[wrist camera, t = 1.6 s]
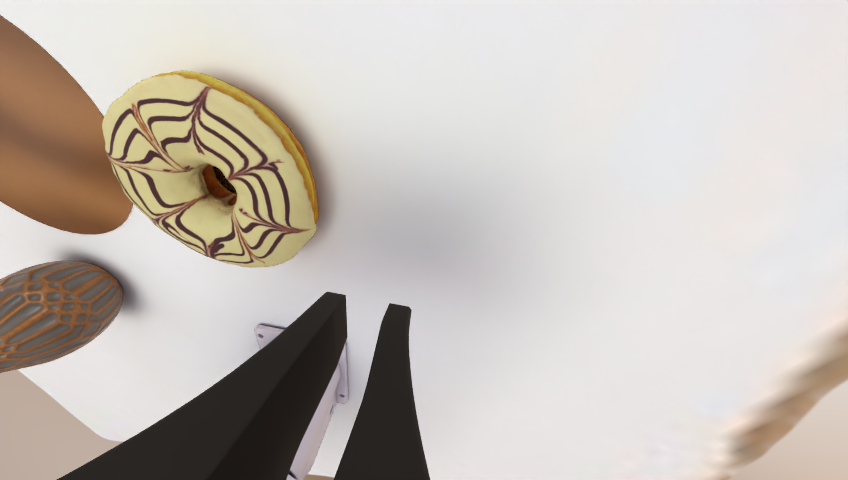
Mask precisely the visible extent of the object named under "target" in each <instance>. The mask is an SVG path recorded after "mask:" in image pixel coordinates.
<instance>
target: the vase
mask: <svg viewBox="0 0 848 480" xmlns="http://www.w3.org/2000/svg"><path fill="white" fill-rule="evenodd" d="M122 297H123V294H122V288H121V286H120V284H119V283H118V281H117V280H116V279H115V278H114V277H113V276H112V275H111V274H109V273H108V272H107V271H105V270H103V269H102V268H100V267H98V266H96V265H93V264H90V263H85V262H77V261H55V262H49V263H43V264H39V265H35V266H32V267H28V268H25V269H22V270H20V271H17V272H15V273H13V274H11V275H8V276H6V277H4V278H2V279H0V373H2V372H6V371H11V370H16V369H20V368H25V367H30V366H34V365H38V364H43V363H46V362H50V361H53V360H56V359H58V358H61V357H63V356H65V355H68V354H70V353H72V352H74V351H76V350H77V349H79V348H81V347H83V346H84V345H86V344H88V343H89V342H90V341H92V340H93V339H95V338H96V337H97V336H98V335H100V334H101V333H102V332H103V331H104V330H105V329H106V328H107V327H108V326H109V325H110V324H111V323H112V322H113V320H114V319H115V317H116V316H117V314H118V313H119V311H120V308H121V305H122Z"/></svg>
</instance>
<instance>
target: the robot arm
mask: <svg viewBox="0 0 848 480" xmlns="http://www.w3.org/2000/svg"><path fill="white" fill-rule="evenodd" d="M410 317H411V309H410V308H409V307H407V306H402V305H396V304H391V303H390V304H389V306H388V308H387V310H386V313H385V315H384V318H383V320H382V323H381V327H380V331H379V336H378V340H377V344H376V348H375V352H374V357H373V361H372V365H371V369H370V374H369V378H368V382H367V386H366V389H365V393H364V396H363V400H362V403H361V406H360V409H359V412H358V414H357V417H356V420H355V423H354V426H353V429H352V431H351V434H350V437H349V440H348V443H347V445H346V448H345V451H344V453H343V456H342V459H341V462H340V464H339V467H338V470H337V472H336V475H335V478H334V480H430V477H429V473H428V469H427V464H426V460H425V455H424V451H423V446H422V441H421V436H420V431H419V426H418V420H417V415H416V409H415V402H414V395H413V388H412V380H411V370H410V358H409V325H410ZM255 334H256V337H257V341H258V344H259V348H260V351H258V352H257V353H256V354H254V355H253V356H252V357H251V358H249V359H248V360H247V361H246V362H244V363H243V364H242V365H240V366H239V367H238V368H237V369H235V370H234V371H232V372H231V373H230V374H228V375H227V376H226V377H224V378H223V379H221V380H220V381H219V382H217V383H216V384H214V385H213V386H212V387H210V388H209V389H207V390H206V391H204V392H203V393H201V394H200V395H199V396H197V397H196V398H194V399H193V400H191V401H189V402H188V403H186V404H185V405H183V406H182V407H180V408H179V409H177V410H175V411H174V412H172V413H171V414H169V415H168V416H166V417H165V418H163V419H161V420H160V421H158V422H157V423H155V424H153V425H152V426H150V427H149V428H147V429H145V430H144V431H142V432H140V433H139V434H137V435H135V436H133V437H132V438H130V439H128V440H126V441H125V442H123V443H121V444H119V445H118V446H116V447H114V448H113V449H111V450H109V451H107V452H106V453H104V454H102V455H100V456H99V457H97V458H95V459H93V460H92V461H90V462H88V463H86V464H85V465H83V466H81V467H79V468H77V469H76V470H74V471H72V472H70V473H68V474H66V475H65V476H63V477H61V478H59V479H57V480H303V479H304V478H305V476H306V475H307V474H308V472H309V471H310V469H311V467H312V465H313V463H314V461H315V458H316V456H317V453H318V450H319V448H320V445H321V442H322V440H323V437H324V435H325V432H326V429H327V427H328V424H329V422H330V419H331V416H332V414H333V411H334V409H335V406H336V403H342V404H345V403H347V401H348V382H347V360H346V344H345V342H346V339H347V316H346V295H342V294H337V293H331V292H326V293H325V294H324V295H322V296H321V297H320V298H319V299H318V300H317V301H316V302H315V303H314V304H313V305H312V306H311V307H310V308H308V309H307V310H306V311H305V312H304V313H303V314H302V315H301V316H300V317H299V318H297V319H296V320H295V321H294V322H293V323H292V324H291V325H289V326H288V327H287V328H286V329H285V330H284V329H279V328H273V327H268V326H263V325H258V326H257V327H256V328H255Z"/></svg>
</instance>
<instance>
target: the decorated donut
mask: <svg viewBox="0 0 848 480" xmlns="http://www.w3.org/2000/svg"><path fill="white" fill-rule="evenodd" d="M102 129H103V134H104V139H105V144H106V145H105V150H106V154H107V157H108V158H109V160H110V162H111V165H112V168H113V172H114V174H115V175H116V177H117V179H118V180H119V182H120V184H121V186H122V188H123V191H124V193H125V194H126V196H127V197H128V198H129V199H130V200H131V202H132V203H133V204H134V205H135V206H136V207H138V208H139V209H140V210H141V211H142V212H143V213H144V214H145V215H146V216H147V217H148V218H149V219H150V220H151V221H152V222H153V223H154V224H155V225H156V226H157V227H159V228H160V229H161V230H163V231H164V232H165V233H167V234H169V235H171V236H172V237H174V238H175V239H177V240H178V241H180V242H182V243H183V244H185V245H186V246H188V247H189V248H191V249H193V250H195V251H197V252H199V253H201V254H203V255H205V256H207V257H210V258H213V259H216V260H219V261H222V262H225V263H228V264H234V265H238V266H242V267H269V266H274V265H278V264H281V263H284V262H286V261H288V260H290V259H292V258H293V257H294V256H295V255H296V254H297V253H298V251H299V250H300V249H301V248H302V247H303V246H304V245H305V244H306V243H307V242H308V240H309V239H311V238H312V236H313V235H314V234H315V232H316V230H317V226H316V223H317V220H318V217H319V210H318V204H317V195H316V188H315V181H314V178H313V175H312V172H311V169H310V165H309V163H308V160H307V158H306V155H305V152H304V150H303V148H302V146H301V144H300V143H299V141H298V140H297V139H296V137H295V136H294V135H293V134H292V132H291V129H289V128H288V126H286V125H285V124H284V123H283V122H282V120H280V119H279V117H278V116H277V115H276V114H275V113H273V112H272V111H271V110H270V109H269V108H268V107H267V106H266V105H264V104H263V103H262V102H260V101H259V100H257V99H255V98H254V97H252V96H251V95H249V94H248V93H246V92H244V91H243V90H240V89H238V88H236V87H233V86H231V85H229V84H227V83H226V82H223V81H220V80H218V79H216V78H214V77H211V76H208V75H205V74H202V73H196V72H192V71H175V72H171V73H163V74H159V75H156V76H154V77H151V78H149V79H144V80H141V81H140V82H139V83H137V84H136V85H135V86H133V87H131V88H130V89H128V91H127V92H126V93H124V94H123V96H121V97H120V98H118V99H116V100H115V101H114V102H113V103H112V104H111V105H110V107H109V109H108V111H107V113H106V115H105V117H104V119H103V123H102ZM213 166H215V167H217V168H219V169H220V170H221V171H222V172H223V174H224V175H225V177H226V178H227V180H228V181H229V182H230V183H231V184H232V185H233V186H234V188H235V189H236V192H237V195H236V194H234V193H232V192H230V191H228V190H227V189H226V188H225V187H224V186H223V185H222V184H221V183H220V182H219V180H218V179H217V177H216V175H215V172H214V170H213Z"/></svg>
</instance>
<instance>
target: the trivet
mask: <svg viewBox="0 0 848 480" xmlns="http://www.w3.org/2000/svg"><path fill="white" fill-rule="evenodd" d="M103 119H104V116H103V115H102V114H101V112H100V111H99V109H98V108H97V107H96V105H95V104H94V102H93V101H92V100H91V99H90V97H89V96H88V95H87V94H86V92H85V91H84V90H83V89H82V88H81V86H80V85H79V84H78V83H77V82H76V81H75V79H74V78H73V77H72V76H71V75H70V74H69V73H68V72H67V71H66V70H65V69H64V68H63V67H62V66H61V65H60V64H59V63H58V62H57V61H56V60H55V59H54V58H53V57H52V56H51V55H50V54H49V53H48V52H47V51H46V50H44V49H43V48H42V47H41V46H40V45H39V44H38V43H36V42H35V41H34V40H33V39H31V38H30V37H29V36H28V35H27V34H25V33H24V32H23V31H22V30H20V29H19V28H18V27H16V26H15V25H13V24H12V23H11V22H9V21H8V20H6V19H5V18H3V17H2V16H1V15H0V201H1V202H3V203H4V204H6V205H7V206H9V207H11V208H13V209H15V210H16V211H18V212H20V213H22V214H24V215H26V216H28V217H30V218H32V219H34V220H36V221H38V222H41V223H43V224H46V225H48V226H51V227H54V228H57V229H60V230H64V231H68V232H72V233H79V234H101V233H106V232H109V231H112V230H114V229H116V228H118V227H119V226H121V225H122V224H123V223H124V222H125V221H126V220H127V218H128V216H129V214H130V212H131V209H132V205H133V203H132V202H131V200H130V199H129V198H128V197H127V196H126V194H125V193H124V191H123V188H122V186H121V184H120V182H119V180H118V179H117V177H116V175H115V174H114V172H113V168H112V165H111V162H110V160H109V158H108V157H107V154H106V150H105V145H106V144H105V139H104V134H103V129H102V123H103Z"/></svg>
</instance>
